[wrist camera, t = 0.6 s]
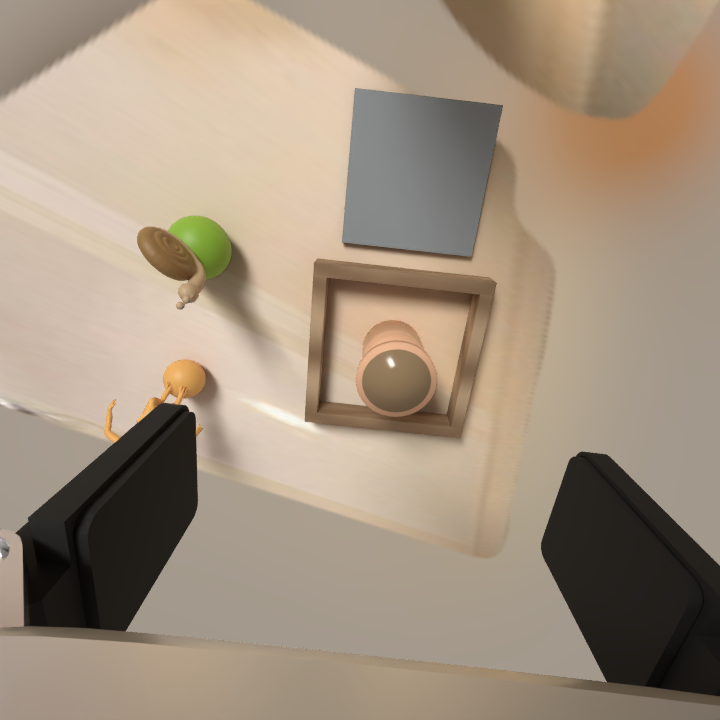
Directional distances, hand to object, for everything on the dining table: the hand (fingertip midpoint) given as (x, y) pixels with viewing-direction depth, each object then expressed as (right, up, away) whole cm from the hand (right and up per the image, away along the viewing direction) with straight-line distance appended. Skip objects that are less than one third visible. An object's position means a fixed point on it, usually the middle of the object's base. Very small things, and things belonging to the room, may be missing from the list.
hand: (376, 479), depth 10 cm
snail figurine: (-14, +14, +28) cm, 34 cm away
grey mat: (+5, +19, +25) cm, 32 cm away
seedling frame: (+3, +4, +31) cm, 31 cm away
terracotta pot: (+3, +4, +31) cm, 31 cm away
